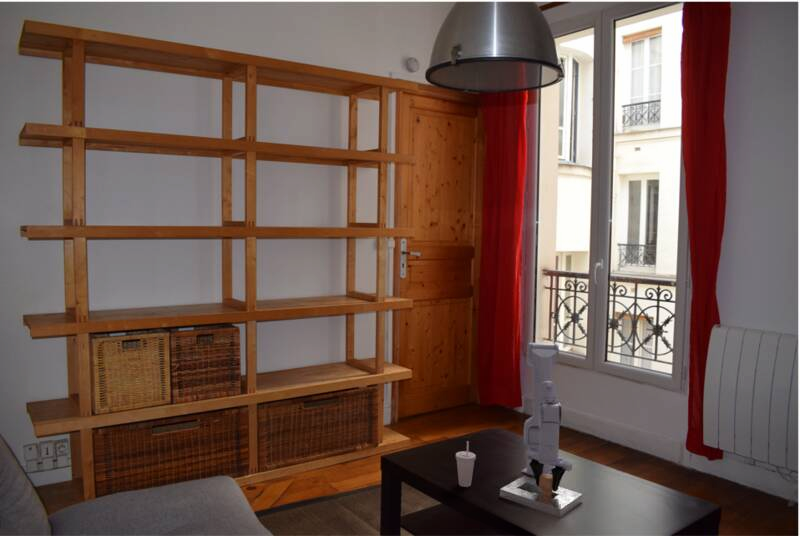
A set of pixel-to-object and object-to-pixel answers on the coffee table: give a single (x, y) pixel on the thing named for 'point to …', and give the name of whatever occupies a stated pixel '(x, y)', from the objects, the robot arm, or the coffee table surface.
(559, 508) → the keyhole plate
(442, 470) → the coffee table surface
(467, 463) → the smoothie
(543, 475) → the peg
